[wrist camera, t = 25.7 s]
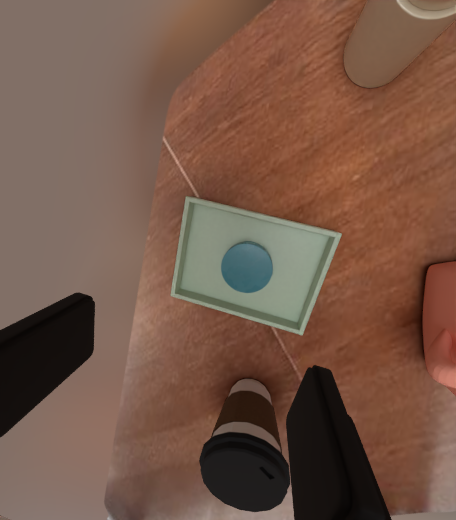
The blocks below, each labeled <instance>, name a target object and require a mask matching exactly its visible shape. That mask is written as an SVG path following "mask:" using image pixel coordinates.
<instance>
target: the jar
mask: <svg viewBox="0 0 456 520" xmlns="http://www.w3.org/2000/svg"><path fill="white" fill-rule="evenodd" d="M455 21H456V0H367V1H366V3H365V5H364V7H363V9H362V11H361V13H360V15H359V17H358V19H357V21H356V23H355V25H354V27H353V29H352V31H351V33H350V35H349V38H348V40H347V42H346V45H345V49H344V59H343V60H344V67H345V71H346V73H347V75H348V77H349V78H350V79H351V81H353V82H354V83H355V84H357V85H359V86H361V87H365V88H376V87H380V86H383V85H385V84H387V83H389V82H391V81H393V80H394V79H395V78H397V77H398V76H399V75H400V74H401V73H402V72H403V71H404V70H405V69H406V68H407V67H408V66H409V65H410V64H411V63H412V62H413V61H414V60H415V59H416V58H417V57H419V56H420V55H421V54H422V53H423V52H424V51H425V50H426V49H427V48H428V47H429V46H430V45H431V44H432V43H433V42H434V41H435V40H436V39H437V38H438V37H439V36H440V35H441V34H442V33H443V32H444V31H445V30H447V29H448V28H449V27H450V26H451V25H452V24H453V23H454V22H455Z"/></svg>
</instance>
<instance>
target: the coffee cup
mask: <svg viewBox="0 0 456 520" xmlns="http://www.w3.org/2000/svg"><path fill="white" fill-rule="evenodd" d="M199 462H200V466H201V474H202V478H203V482H204V484H205V485H206V486H207V488H208V489H209V490H210V492H211V493H212V494H213V495H214V496H215V497H217V498H218V499H219V500H221V501H222V502H223V503H225V504H227V505H230V506H232V507H234V508H237V509H239V510H245V511H252V512H259V511H267V510H271V509H272V508H274V507H276V506H277V505H279V504H281V503H282V501H283V499H284V497H285V495H286V493H287V489H288V487H289V485H290V475H289V465H288V463H287V462H286V460H285V458H284V457H283V455H282V450H281V443H280V438H279V433H278V428H277V422H276V417H275V412H274V408H273V406H272V403H271V397H270V394H269V392H268V391H267V389H266V387H265V386H264V385H263V384H262V383H260V382H259V381H257V380H254V379H242V380H239V381H238V382H237V383H236V384H235V385H234V386H233V387H232V388H231V391H230V393H229V396H228V397H227V398H226V400H225V403H224V405H223V408H222V410H221V413H220V415H219V418H218V420H217V423H216V425H215V428H214V430H213V433H212V436H211V439H209V440H208V441H207V442H206V443H205V444H204V446H203V449H202V453H201V456H200V460H199Z"/></svg>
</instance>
